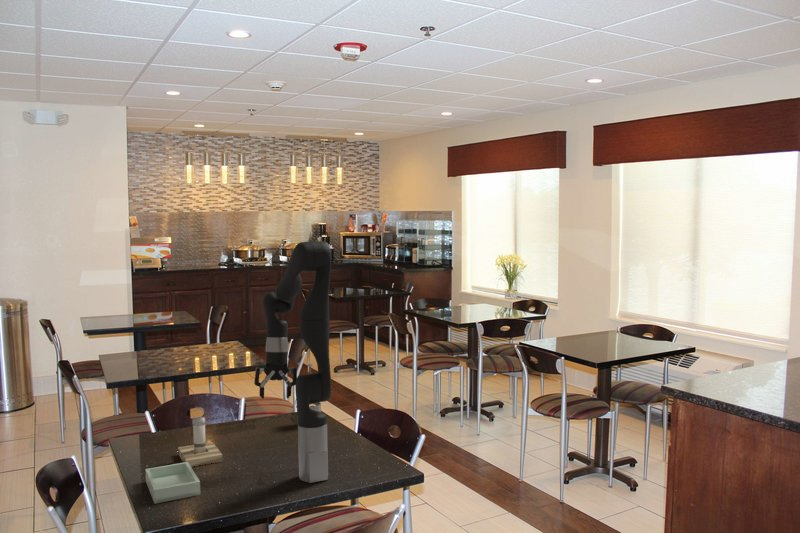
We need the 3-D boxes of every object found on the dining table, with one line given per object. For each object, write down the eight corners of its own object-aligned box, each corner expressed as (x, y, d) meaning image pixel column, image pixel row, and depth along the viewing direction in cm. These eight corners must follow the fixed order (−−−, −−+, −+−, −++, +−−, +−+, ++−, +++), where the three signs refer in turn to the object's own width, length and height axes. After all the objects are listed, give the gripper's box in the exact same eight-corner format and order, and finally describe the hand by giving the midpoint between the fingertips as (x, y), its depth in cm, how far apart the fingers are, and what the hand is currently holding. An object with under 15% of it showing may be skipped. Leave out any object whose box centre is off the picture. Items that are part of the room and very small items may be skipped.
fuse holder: (222, 461, 224) (222, 454, 224) (186, 467, 218) (186, 460, 218) (212, 448, 238) (212, 441, 238) (178, 454, 232) (178, 447, 232)
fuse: (207, 458, 227) (206, 419, 227) (195, 460, 225) (193, 420, 225) (205, 455, 231) (203, 416, 230) (192, 457, 229) (191, 417, 228)
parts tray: (200, 494, 195) (200, 481, 195) (154, 503, 189) (154, 490, 189) (188, 473, 213) (187, 461, 213) (145, 481, 207) (145, 469, 206)
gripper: (256, 351, 218) (255, 400, 217) (299, 351, 223) (297, 399, 221) (254, 350, 226) (253, 397, 224) (295, 350, 230) (294, 396, 229)
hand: (275, 398), depth 223 cm, fingers open, 8 cm apart
